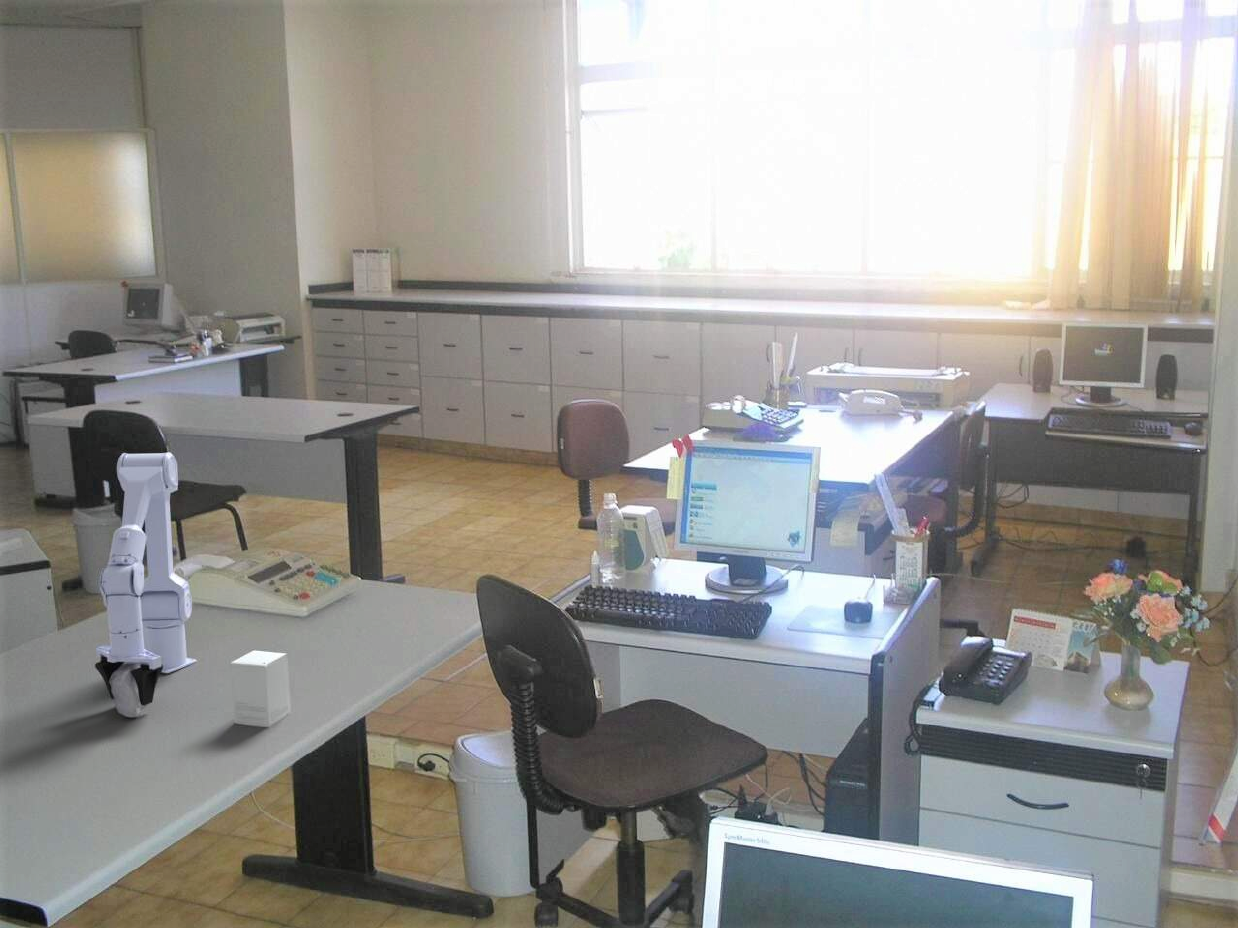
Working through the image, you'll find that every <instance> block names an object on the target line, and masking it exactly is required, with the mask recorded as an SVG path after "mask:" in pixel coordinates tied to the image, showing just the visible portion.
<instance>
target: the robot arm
mask: <svg viewBox="0 0 1238 928" xmlns="http://www.w3.org/2000/svg"><path fill="white" fill-rule="evenodd" d="M116 474H117V479H118V481H119V483H120V484H119V485H120V487H121V489H122V491H124V497H123V498H124V499H123V510H122V519H121V527H119V528H117V529H116V530H115V531H114V532H113V536H112V541H111V547H110V552H109V557H108V562H107V566H106V567H104V568H102V569H101V571H100V576H99V591H100V593H101V596H102V599H103V605H104V607H106V610H107V621H108V622H107V623H108V634H109V635H108V636H109V645H102V646H99V647H97V648H96V647H95V655H96V659H97V660H100V661H99V662H96V663H95V664H94V667H95V668H94V669H96V670H97V671H98V673H99V675H100V676H101V677H102V680H103V681H104V683H105V685H106V687H107V690H108V691H107V692H108V693H109V696H110V698H111V700H115V699H114V696H113V694H112V691H111V685H110V683H109V680H110V678H111V676H112V674H113V673H114V672H115V671H116V670H117V669H118V668H119V667H120V666H121V665H122V664H124V663H125V662H126V663H131V664H136V665H140V667H141V668H137V669H135V670H132V671H131V673H132V675H133V677H134V679H135V681H136V684H137V687H138V692H139V699H140V703H141V705H143V706H144V705H146V706H147V705H150V704H151V703H153V700H154V697H153V695H154V696H155V693H154V690H155V691H156V685H157V683H158V679H159V677H160V676H161V673H163V674H170V673H172V672H173V673H174V672H175V671H177V670H180V669H183V668H186V667H188V666H191V665H193V664H195V663H197V662H198V661H197V659H195V658H189V657H187V642H186V631H185V622H187V621H188V619H189V618H190V617H191V614H192V611H193V609H192V608H193V600H192V599H193V598H192V594H191V590H190V584H189V582H188V581H186V579H184V578H182V577H181V576H179V575H177V574H176V573H175V572H174V559H173V557H174V555H173V538H172V537H173V535H172V520H171V519H172V518H171V517H172V516H171V503H170V501H171V493H174V492H176V491H178V490H179V489H178V485H179V478H178V477H179V476H178V474H179V473H178V462H177V460H176V458H175V456H174V455H173V454H172V452H171V451H170V452H168V451H167V452H163V453H158V452H157V453H156V452H155V453H126V452H123V453H122V454H121V455H120V456H119V457H118V459H117V463H116ZM144 526H145V527H144ZM143 527H144V529H145V532H144V531H143ZM145 550H146V559H147V560H146V563H147V576H146V577H145V565H144V564H143V559H144V556H145ZM144 707H145V706H144Z"/></svg>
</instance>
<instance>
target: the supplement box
mask: <svg viewBox="0 0 1238 928" xmlns="http://www.w3.org/2000/svg"><path fill="white" fill-rule="evenodd" d="M230 673H231V685H232V686H231V688H232V701H233V712H234V723H235V724H238V725H244V726H253V727H261V728H262V727H263V728H271V727H272V726H274V725H275V724H276V723H278V722H279V721H281V720H283V718H284V717H286V716H287V715H289V714H290V713H291V712H292V705H291V704H292V703H291V690H290V677H289V675H290V674H289V663H288V654H287V653H283V652H272V651H262V650H252V651H250V652H248V653H245V654H244V655H243V656H240V657H239V658H237V659H235V660H233V661H231V662H230Z"/></svg>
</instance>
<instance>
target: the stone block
mask: <svg viewBox="0 0 1238 928" xmlns="http://www.w3.org/2000/svg"><path fill="white" fill-rule="evenodd" d="M137 668H141V667H140V665H136V664H131V663H126V662H125V663H124V664H122V665H121V666H120V667H119V668H118V669H117V670H116V671H115V672H114V673H113V674H112V676H111V678H110V680H109V683H110V685H111V691H112V694H113V696H114V699H113V700H114V703H115V708H116V711H117V713H119V714H120V715H122V716H124V717H125V718H126V717H127V718H129V719H130V718H131V719H134V718H135V719H136V718H138V717H139V714H140V715H141V713H140V712H142V711H141V710H142V709H144V707H146V706H147V705H144V706H143V705H141V703H140V699H139V692H138V687H137V684H136V681H135V679H134V677H133V675H132V673H131V671H132V670H135V669H137ZM155 691H156V689H155V690H154V695H153V698H154V697H155V693H156V692H155Z"/></svg>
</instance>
